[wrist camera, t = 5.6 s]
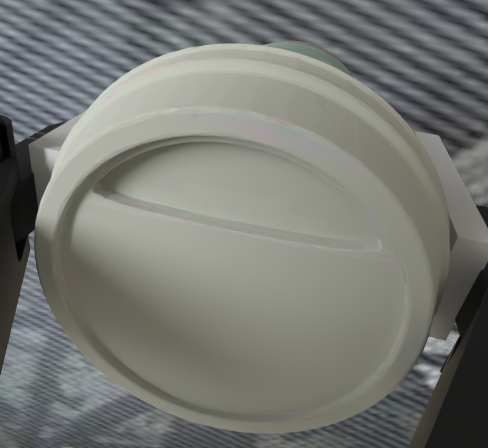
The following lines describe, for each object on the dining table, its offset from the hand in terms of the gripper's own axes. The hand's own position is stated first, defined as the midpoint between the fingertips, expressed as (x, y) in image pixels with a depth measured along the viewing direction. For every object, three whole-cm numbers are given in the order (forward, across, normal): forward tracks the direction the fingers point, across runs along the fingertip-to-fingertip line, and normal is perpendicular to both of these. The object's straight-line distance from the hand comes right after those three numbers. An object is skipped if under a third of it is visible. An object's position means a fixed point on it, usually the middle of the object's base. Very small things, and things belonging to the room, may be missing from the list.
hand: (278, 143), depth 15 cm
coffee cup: (+4, 0, 0) cm, 4 cm away
